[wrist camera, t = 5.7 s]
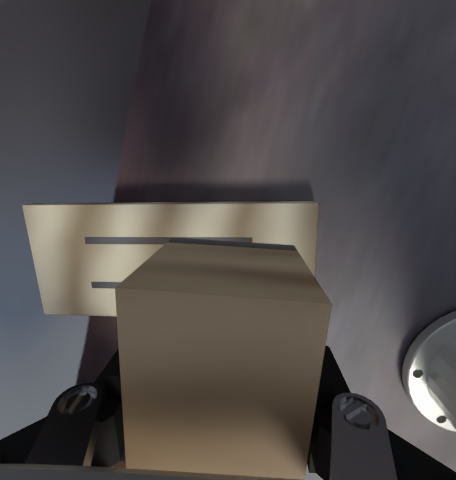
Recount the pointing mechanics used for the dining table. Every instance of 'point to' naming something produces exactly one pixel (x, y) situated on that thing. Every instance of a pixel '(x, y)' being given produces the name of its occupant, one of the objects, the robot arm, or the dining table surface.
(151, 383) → the block
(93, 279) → the birch plank
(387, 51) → the dining table surface
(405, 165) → the dining table surface
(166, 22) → the dining table surface
